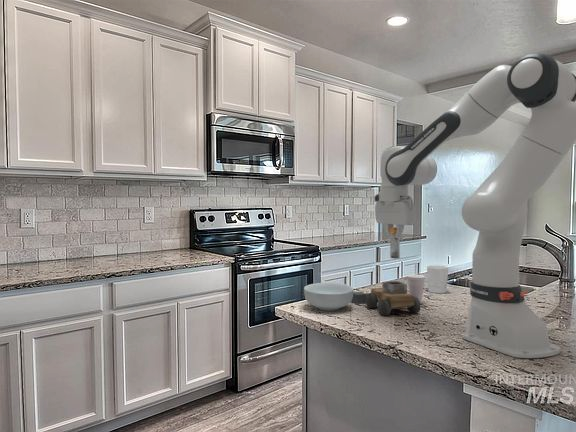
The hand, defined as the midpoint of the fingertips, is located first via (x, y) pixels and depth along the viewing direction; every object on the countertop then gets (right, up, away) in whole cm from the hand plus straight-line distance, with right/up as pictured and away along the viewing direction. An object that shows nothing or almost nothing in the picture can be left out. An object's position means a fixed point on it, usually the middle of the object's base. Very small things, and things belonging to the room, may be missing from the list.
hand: (394, 238), depth 133 cm
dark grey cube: (-10, -24, +11) cm, 28 cm away
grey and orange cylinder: (0, -7, 0) cm, 7 cm away
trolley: (-1, -24, +1) cm, 24 cm away
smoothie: (+10, -24, +10) cm, 28 cm away
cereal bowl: (-22, -24, +4) cm, 33 cm away
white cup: (+24, -23, +27) cm, 43 cm away
